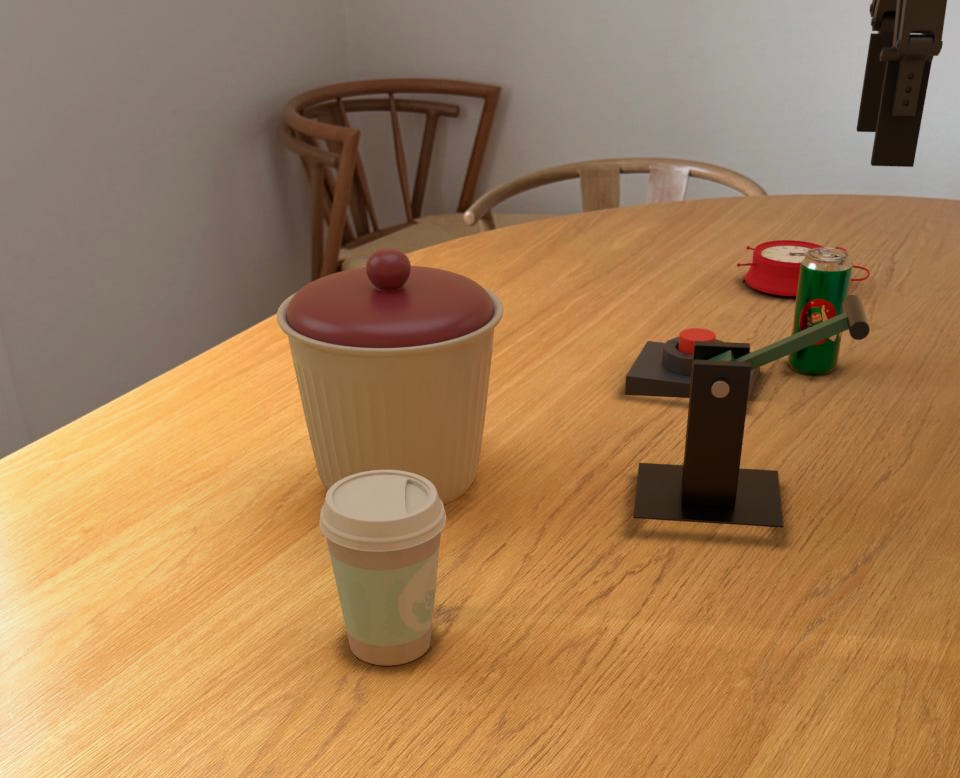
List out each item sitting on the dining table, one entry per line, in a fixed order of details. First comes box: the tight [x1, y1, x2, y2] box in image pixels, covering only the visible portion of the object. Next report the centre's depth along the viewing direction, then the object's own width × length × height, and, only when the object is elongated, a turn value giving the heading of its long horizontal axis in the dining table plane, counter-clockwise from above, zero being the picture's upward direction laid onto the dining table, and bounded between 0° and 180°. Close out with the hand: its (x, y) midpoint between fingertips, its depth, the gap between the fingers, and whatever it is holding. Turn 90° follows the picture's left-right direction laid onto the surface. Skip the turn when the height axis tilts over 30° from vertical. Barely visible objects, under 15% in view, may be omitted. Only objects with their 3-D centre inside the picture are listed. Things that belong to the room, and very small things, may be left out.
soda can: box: [787, 247, 854, 376], centre depth 128 cm, size 5×5×12 cm
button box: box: [624, 336, 761, 402], centre depth 127 cm, size 12×10×4 cm
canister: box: [276, 247, 504, 506], centre depth 104 cm, size 18×18×21 cm
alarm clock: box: [736, 239, 871, 297], centre depth 152 cm, size 10×6×15 cm
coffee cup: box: [318, 470, 447, 667], centre depth 87 cm, size 8×8×12 cm
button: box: [678, 327, 717, 355], centre depth 126 cm, size 4×4×2 cm
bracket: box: [633, 341, 784, 528], centre depth 103 cm, size 12×10×14 cm
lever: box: [708, 294, 871, 370], centre depth 98 cm, size 13×6×2 cm, turn 81°
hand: (883, 147), depth 89 cm, fingers open, 9 cm apart
